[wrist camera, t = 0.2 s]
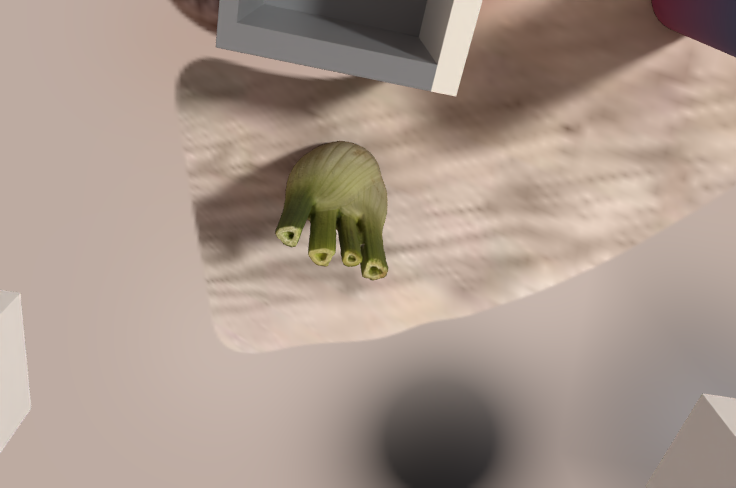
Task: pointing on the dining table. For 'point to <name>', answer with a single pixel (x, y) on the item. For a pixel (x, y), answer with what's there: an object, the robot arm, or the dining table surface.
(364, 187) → the fennel bulb
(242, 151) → the dining table surface
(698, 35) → the cup
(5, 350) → the robot arm
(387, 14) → the storage box
